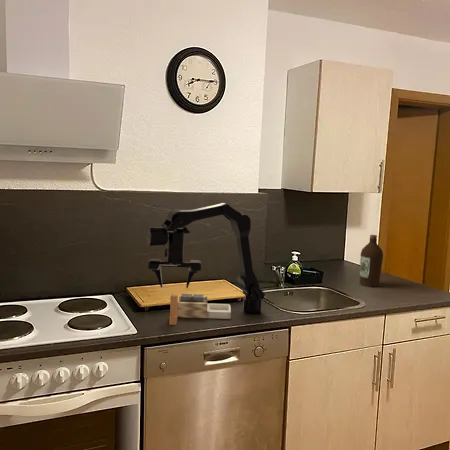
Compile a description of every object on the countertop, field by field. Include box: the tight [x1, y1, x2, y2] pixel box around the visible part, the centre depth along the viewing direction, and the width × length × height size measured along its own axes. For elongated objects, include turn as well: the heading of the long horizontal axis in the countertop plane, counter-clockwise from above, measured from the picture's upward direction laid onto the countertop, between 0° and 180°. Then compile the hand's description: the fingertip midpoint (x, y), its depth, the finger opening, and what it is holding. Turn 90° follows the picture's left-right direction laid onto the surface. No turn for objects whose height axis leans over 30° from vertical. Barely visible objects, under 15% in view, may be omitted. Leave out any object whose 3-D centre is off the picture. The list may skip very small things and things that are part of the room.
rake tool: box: [169, 293, 179, 326], centre depth 174 cm, size 2×6×10 cm, turn 1°
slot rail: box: [177, 294, 209, 319], centre depth 184 cm, size 11×10×6 cm
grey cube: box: [181, 293, 193, 302], centre depth 184 cm, size 4×4×4 cm
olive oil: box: [359, 234, 384, 287], centre depth 236 cm, size 11×11×25 cm
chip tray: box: [206, 302, 232, 320], centre depth 185 cm, size 9×10×2 cm
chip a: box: [192, 293, 205, 303], centre depth 184 cm, size 4×4×4 cm
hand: (174, 287), depth 174 cm, fingers open, 9 cm apart
